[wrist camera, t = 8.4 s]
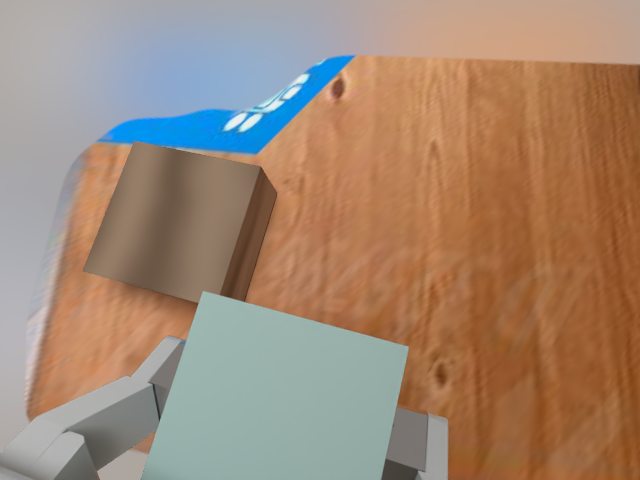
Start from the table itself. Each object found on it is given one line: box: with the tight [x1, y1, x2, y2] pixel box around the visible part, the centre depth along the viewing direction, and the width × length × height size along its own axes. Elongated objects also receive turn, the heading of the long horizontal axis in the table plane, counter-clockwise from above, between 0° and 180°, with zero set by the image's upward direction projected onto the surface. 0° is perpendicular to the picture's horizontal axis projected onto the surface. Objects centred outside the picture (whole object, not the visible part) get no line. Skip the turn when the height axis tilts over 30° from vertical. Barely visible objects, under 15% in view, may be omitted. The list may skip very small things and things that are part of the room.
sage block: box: [141, 291, 409, 480], centre depth 12 cm, size 5×5×7 cm
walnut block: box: [83, 141, 277, 303], centre depth 30 cm, size 10×10×5 cm
